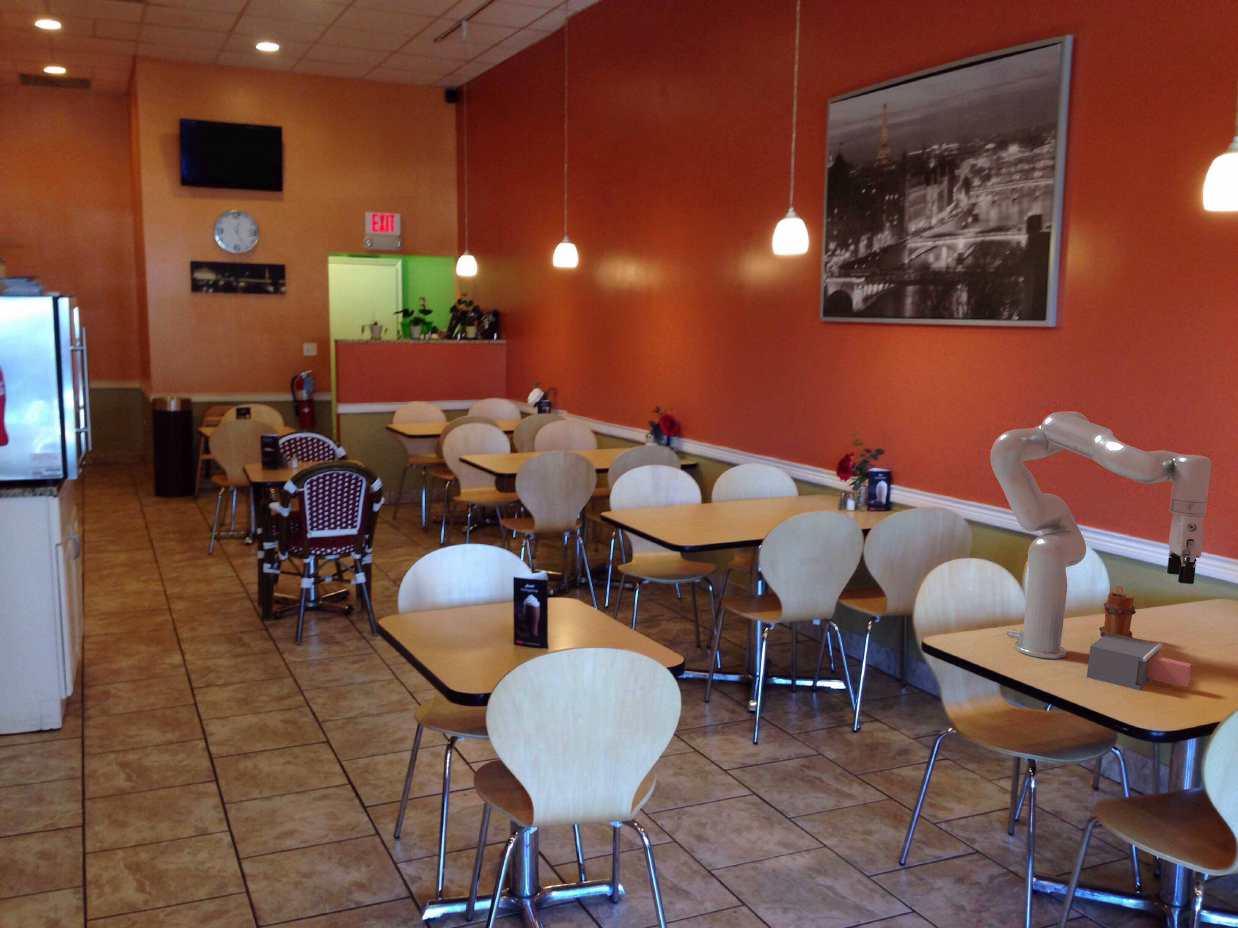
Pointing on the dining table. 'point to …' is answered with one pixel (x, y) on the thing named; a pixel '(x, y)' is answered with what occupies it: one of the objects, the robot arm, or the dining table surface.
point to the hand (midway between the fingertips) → (1179, 578)
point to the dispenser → (1121, 660)
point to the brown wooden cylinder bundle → (1118, 613)
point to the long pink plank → (1169, 670)
